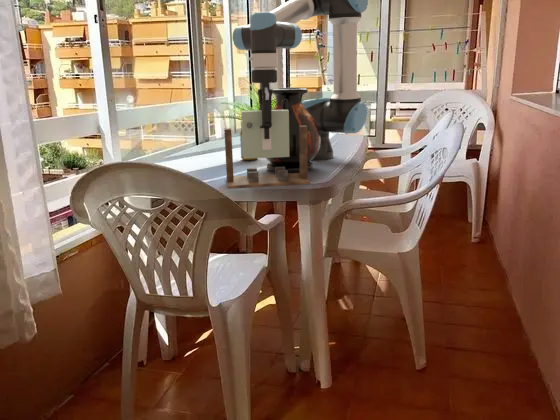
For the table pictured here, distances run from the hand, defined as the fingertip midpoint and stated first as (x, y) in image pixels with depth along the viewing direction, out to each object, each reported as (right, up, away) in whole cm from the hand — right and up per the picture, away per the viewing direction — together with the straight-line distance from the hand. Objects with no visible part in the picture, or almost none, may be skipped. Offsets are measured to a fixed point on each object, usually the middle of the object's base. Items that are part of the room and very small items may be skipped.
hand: (266, 148), depth 151 cm
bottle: (-8, +1, +46) cm, 46 cm away
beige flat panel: (0, -3, +1) cm, 3 cm away
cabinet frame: (0, -11, +3) cm, 11 cm away
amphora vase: (+8, -5, +23) cm, 25 cm away
